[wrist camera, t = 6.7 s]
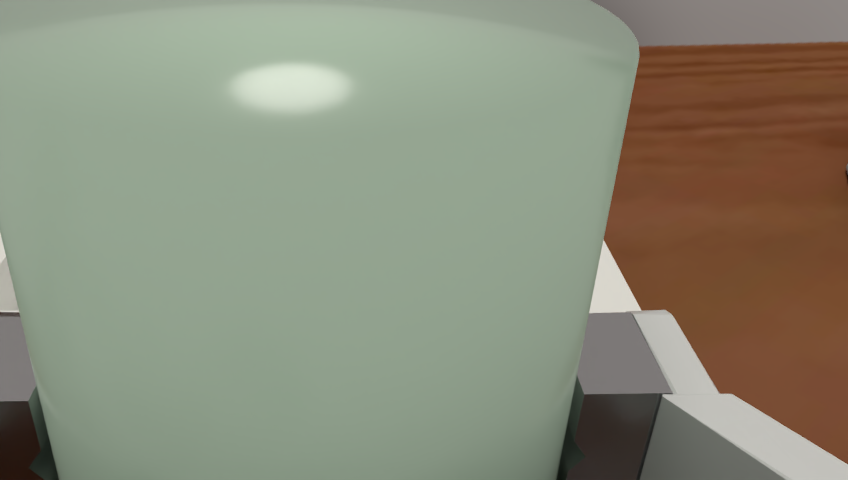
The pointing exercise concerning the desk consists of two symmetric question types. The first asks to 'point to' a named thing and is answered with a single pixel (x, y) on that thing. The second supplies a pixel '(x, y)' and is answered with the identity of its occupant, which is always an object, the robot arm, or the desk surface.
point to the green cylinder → (308, 230)
